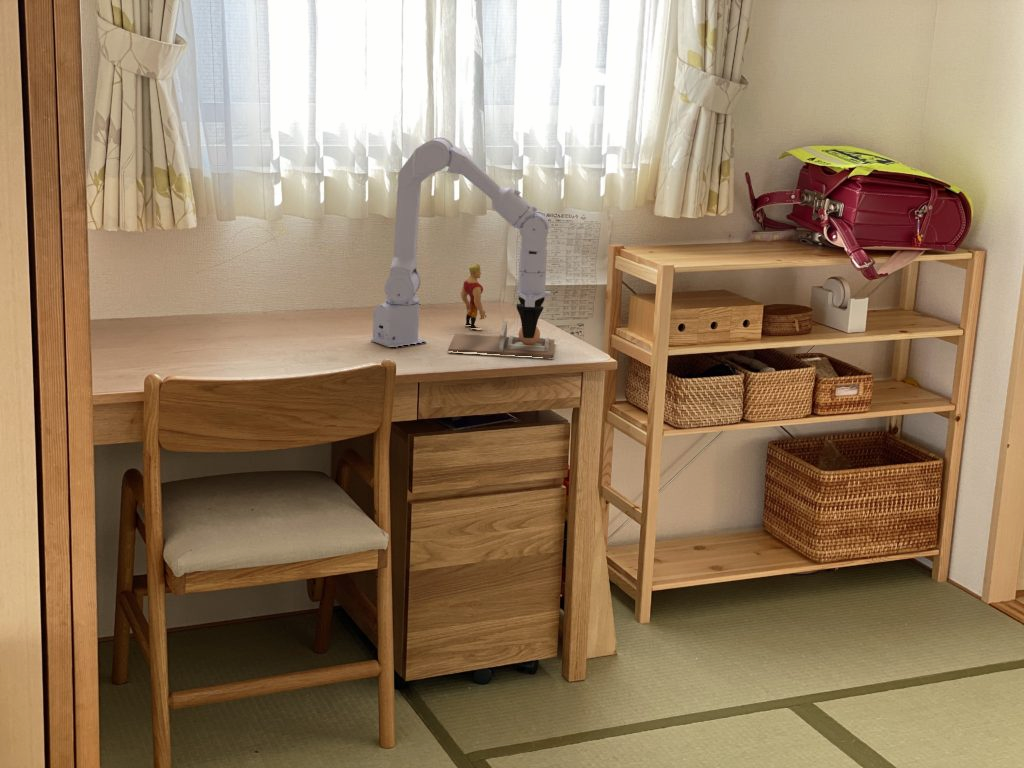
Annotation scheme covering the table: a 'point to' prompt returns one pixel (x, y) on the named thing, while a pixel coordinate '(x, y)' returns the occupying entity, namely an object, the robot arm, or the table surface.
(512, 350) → the board
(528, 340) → the ball
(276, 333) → the table surface
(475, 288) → the action figure
